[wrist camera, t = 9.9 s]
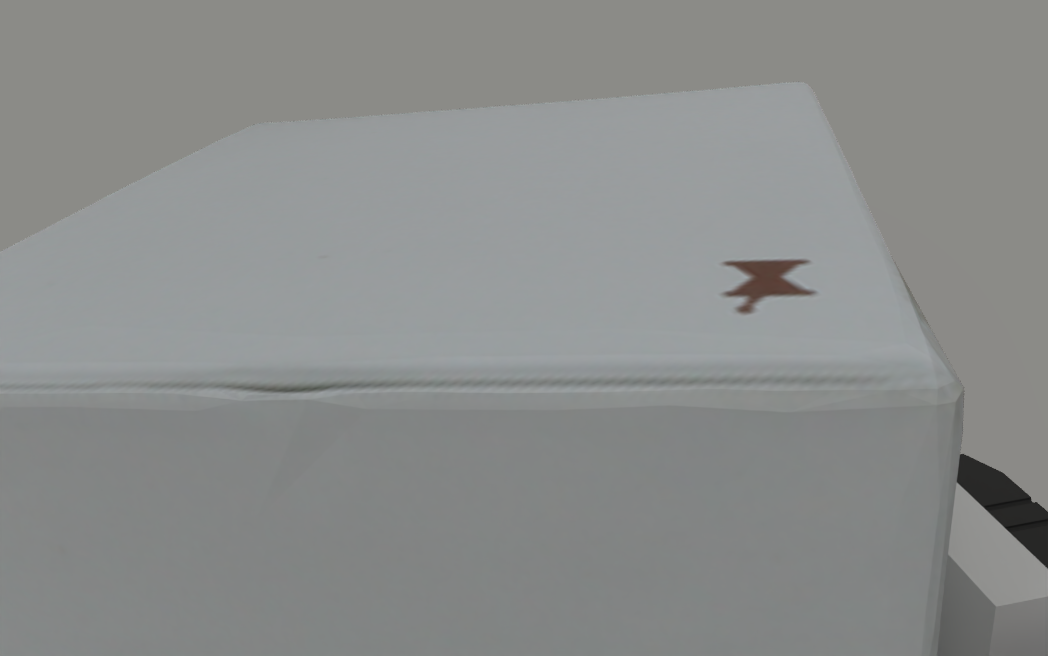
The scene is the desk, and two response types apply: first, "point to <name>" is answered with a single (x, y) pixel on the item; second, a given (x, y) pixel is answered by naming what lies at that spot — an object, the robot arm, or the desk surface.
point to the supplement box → (478, 395)
